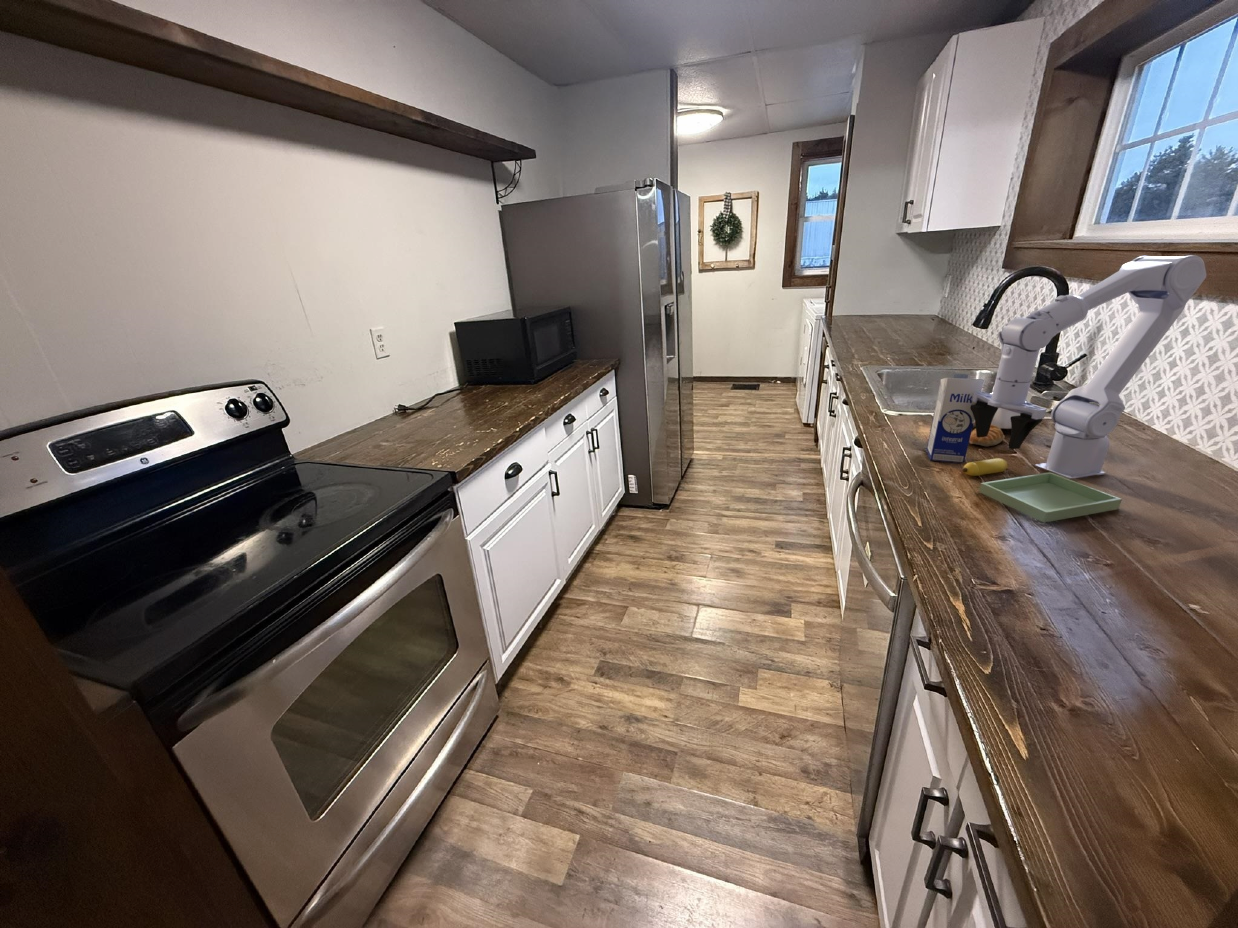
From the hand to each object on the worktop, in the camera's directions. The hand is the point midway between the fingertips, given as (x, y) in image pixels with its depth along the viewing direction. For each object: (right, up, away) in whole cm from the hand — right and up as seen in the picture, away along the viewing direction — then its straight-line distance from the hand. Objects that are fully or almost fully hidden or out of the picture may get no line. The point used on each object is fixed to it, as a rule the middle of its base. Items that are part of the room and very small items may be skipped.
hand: (997, 442), depth 106 cm
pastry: (+13, +1, +21) cm, 25 cm away
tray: (+2, -12, -9) cm, 16 cm away
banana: (0, -7, +3) cm, 8 cm away
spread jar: (+21, +5, +30) cm, 37 cm away
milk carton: (-2, -3, +13) cm, 14 cm away
